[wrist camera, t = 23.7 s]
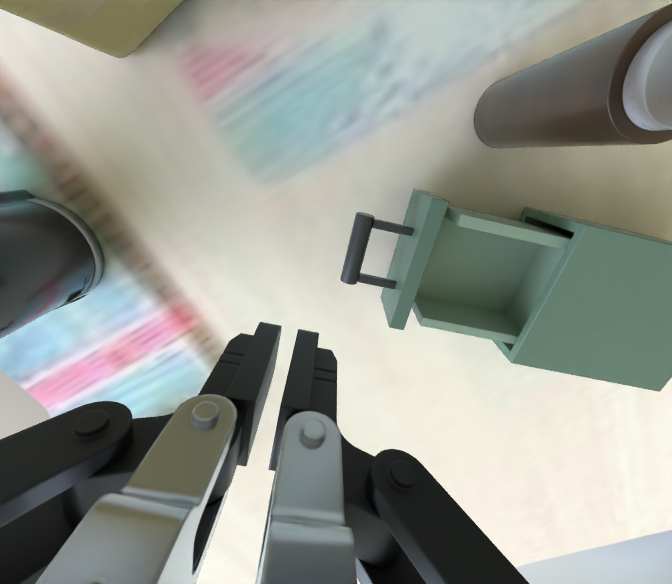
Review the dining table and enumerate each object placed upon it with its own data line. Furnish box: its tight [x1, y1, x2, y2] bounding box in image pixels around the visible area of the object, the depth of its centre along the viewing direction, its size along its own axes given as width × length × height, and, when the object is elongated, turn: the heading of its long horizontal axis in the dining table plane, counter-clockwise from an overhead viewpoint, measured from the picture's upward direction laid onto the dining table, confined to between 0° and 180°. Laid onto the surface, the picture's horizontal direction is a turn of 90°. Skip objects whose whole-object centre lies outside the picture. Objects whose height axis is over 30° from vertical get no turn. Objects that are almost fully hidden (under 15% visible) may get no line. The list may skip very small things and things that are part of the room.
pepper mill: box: [474, 4, 672, 148], centre depth 17 cm, size 5×5×16 cm
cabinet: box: [493, 207, 672, 391], centre depth 27 cm, size 13×11×7 cm
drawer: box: [341, 189, 572, 344], centre depth 26 cm, size 17×10×6 cm, turn 78°
